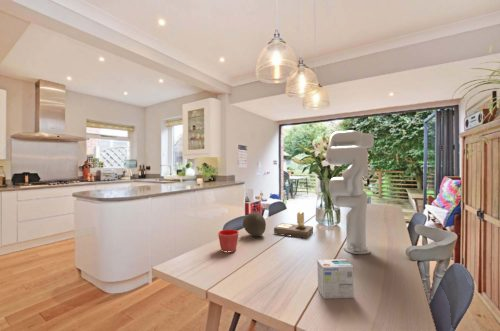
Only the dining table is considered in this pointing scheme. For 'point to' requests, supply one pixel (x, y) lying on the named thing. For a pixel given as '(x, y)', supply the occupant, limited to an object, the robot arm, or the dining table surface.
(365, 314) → the dining table surface
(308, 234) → the brown flat wooden block
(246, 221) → the cantaloupe
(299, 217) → the brass peg
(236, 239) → the flower pot
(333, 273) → the light bulb box
